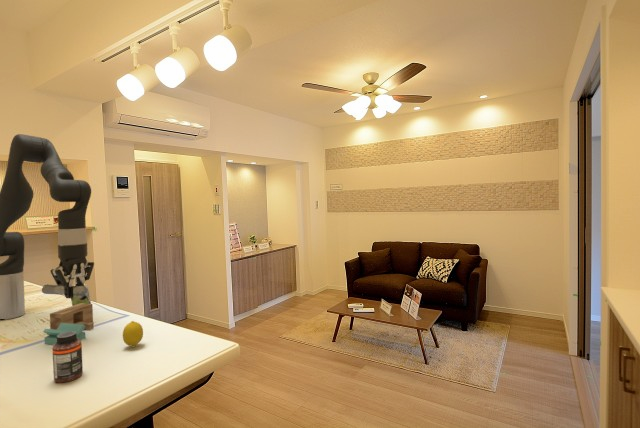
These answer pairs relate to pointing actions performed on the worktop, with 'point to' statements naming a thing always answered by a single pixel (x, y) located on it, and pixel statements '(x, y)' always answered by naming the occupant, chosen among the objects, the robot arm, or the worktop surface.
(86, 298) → the beverage can
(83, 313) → the brown wooden block
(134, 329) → the lemon
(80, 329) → the v block
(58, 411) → the worktop surface
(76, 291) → the axle
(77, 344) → the supplement bottle
